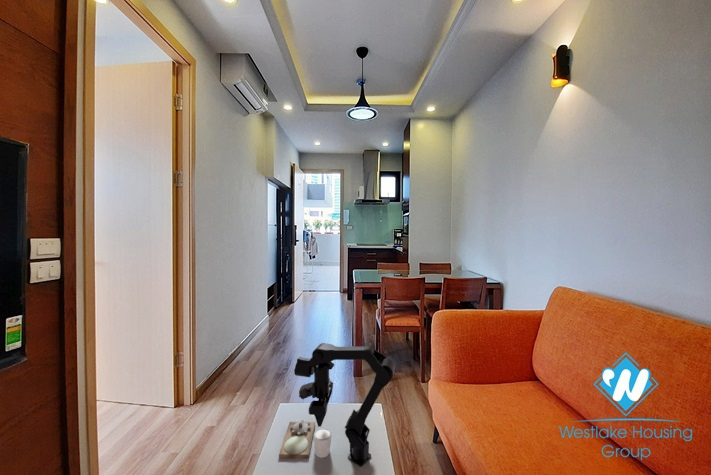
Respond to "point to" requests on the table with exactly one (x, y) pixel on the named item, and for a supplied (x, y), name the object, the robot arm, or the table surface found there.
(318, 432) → the shot glass
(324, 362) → the robot arm
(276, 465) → the table surface
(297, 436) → the gear board
